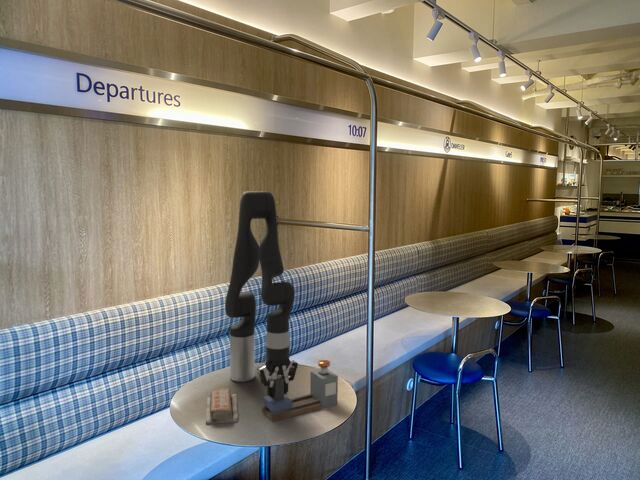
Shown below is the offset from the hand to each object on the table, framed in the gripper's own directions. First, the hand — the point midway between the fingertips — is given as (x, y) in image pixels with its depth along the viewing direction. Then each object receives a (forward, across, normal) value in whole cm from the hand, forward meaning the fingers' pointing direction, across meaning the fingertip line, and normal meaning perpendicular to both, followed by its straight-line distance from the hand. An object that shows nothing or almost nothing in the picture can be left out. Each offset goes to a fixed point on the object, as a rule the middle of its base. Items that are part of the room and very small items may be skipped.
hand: (277, 394), depth 153 cm
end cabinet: (+6, -18, 0) cm, 19 cm away
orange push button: (-2, -18, 0) cm, 18 cm away
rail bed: (+6, -5, 0) cm, 8 cm away
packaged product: (+7, +15, -11) cm, 20 cm away
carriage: (+4, 0, 0) cm, 4 cm away
